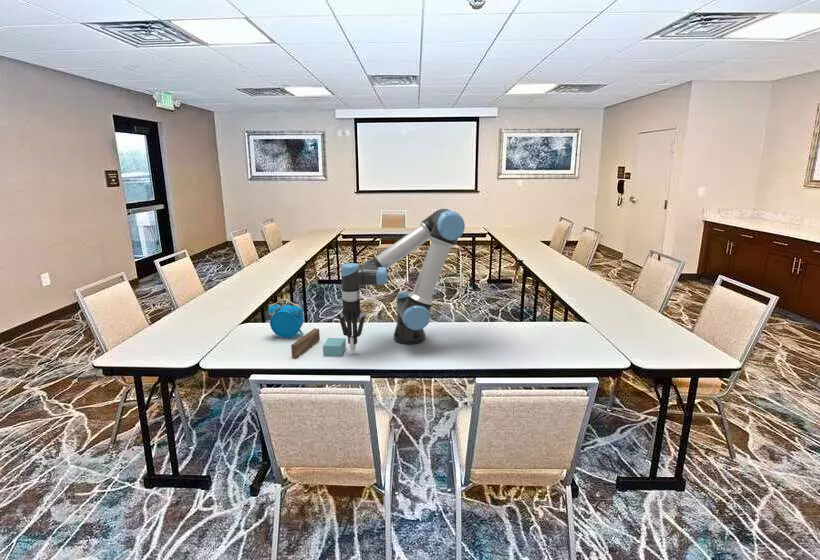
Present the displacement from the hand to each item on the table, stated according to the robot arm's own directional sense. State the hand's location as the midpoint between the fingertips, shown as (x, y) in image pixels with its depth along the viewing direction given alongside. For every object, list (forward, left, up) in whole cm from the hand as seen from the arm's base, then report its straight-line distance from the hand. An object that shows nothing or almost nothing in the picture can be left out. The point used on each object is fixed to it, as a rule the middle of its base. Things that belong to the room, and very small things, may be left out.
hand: (353, 350), depth 209 cm
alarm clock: (+39, -12, -2) cm, 41 cm away
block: (+9, 0, -2) cm, 9 cm away
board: (+23, 0, -2) cm, 23 cm away
